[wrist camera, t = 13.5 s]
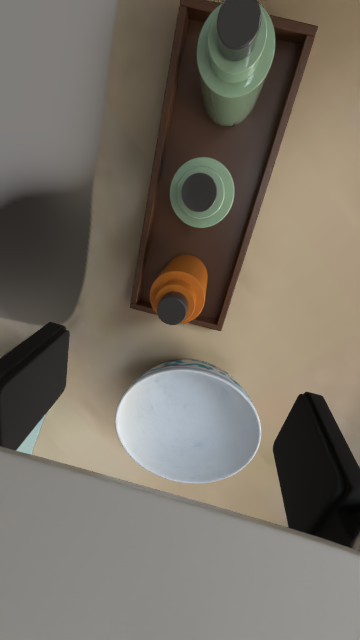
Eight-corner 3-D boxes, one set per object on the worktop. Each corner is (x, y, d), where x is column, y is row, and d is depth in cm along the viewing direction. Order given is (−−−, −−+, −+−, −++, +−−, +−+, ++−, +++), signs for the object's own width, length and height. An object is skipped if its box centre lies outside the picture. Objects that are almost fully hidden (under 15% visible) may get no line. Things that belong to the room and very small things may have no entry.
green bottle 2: (210, 52, 23) (205, -56, 13) (266, 66, 23) (302, -34, 13) (196, 119, 25) (183, 67, 15) (248, 132, 25) (268, 87, 15)
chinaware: (199, 309, 32) (194, 340, 25) (276, 397, 35) (291, 447, 28) (111, 376, 37) (86, 418, 30) (185, 448, 40) (179, 500, 33)
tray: (184, 11, 22) (181, -7, 21) (310, 40, 22) (318, 25, 20) (134, 302, 32) (129, 308, 31) (220, 324, 32) (221, 331, 30)
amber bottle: (169, 249, 29) (146, 273, 20) (212, 260, 29) (210, 289, 20) (160, 291, 31) (136, 331, 21) (201, 301, 31) (194, 346, 21)
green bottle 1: (187, 163, 26) (170, 140, 16) (236, 175, 26) (247, 159, 16) (176, 215, 28) (155, 222, 18) (222, 226, 28) (225, 239, 18)
